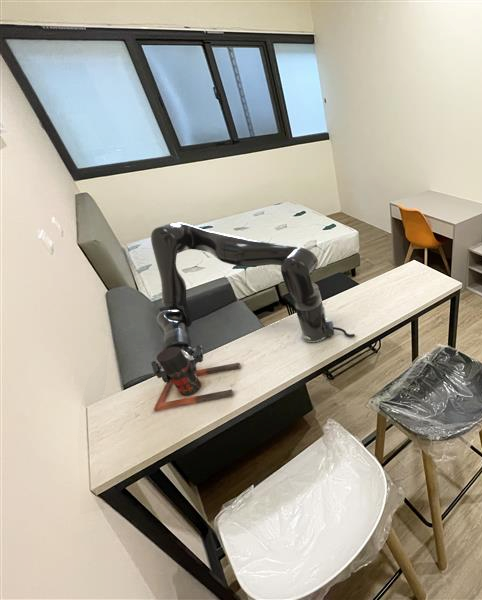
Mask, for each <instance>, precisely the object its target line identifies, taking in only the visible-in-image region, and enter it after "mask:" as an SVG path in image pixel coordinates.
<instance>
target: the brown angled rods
mask: <svg viewBox="0 0 482 600" xmlns="http://www.w3.org/2000/svg"><path fill="white" fill-rule="evenodd" d="M241 366H242V365H241V363H240V362H235V363H228V364H223V365H217V366H212V367H206V368H202V369H197V370H196V371H195V374H196V376H197V378H198V377H202V376H203V377H204V376H207V375H213V374H219V373H224V372H231V371H236V370H240V369H241ZM173 385H174V384H173V382H172V381H171V380H170V383H165V386H164V387H163V390H162V391H161V393H160V395H159V397H158V399H157V401H156V403H155V406H154V408H153V410H154V412H159V411H163V410H164V411H165V410H169V409H174V408H178V407H185V406H188V405H194V404H199V403H205V402H210V401H214V400H219V399H220V400H221V399H226V398H230V397H233V396H234V390H233V389H232V388H231V389H227V390H226V389H225V390H223V391H222V390H221V391H216V392H215V391H214V392H210V393H205V394H200V395H194V396H188V397H184V398H179V399H174V400H168V401H166V399H167V398H168V396H169V393H170V392H171V389H172V388H173Z"/></svg>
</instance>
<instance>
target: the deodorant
mask: <svg viewBox="0 0 482 600" xmlns="http://www.w3.org/2000/svg"><path fill="white" fill-rule="evenodd" d="M156 360H157V362H159V363H160V365H161V366H162V368H163V369H164V371H165V372H166V374H167V375H168V377H169V378H170V380H171V381H172V382H173V385H174V387H175V389H176V390H177V391H178V393H179V394H180V396H182V397H191V396H193V395H194V394H196V393H198V392H199V391H200V389H201V388H202V383H201V381H200V379H199V378H198V377H197V376H196V374H195V373H193V374H192V372H191V371H190V369H189V363H188V361H187V359H186V358H185V356H184V354H183V353H182V351H181V349H180V348H179V347H170V348H167V349H165V350H163V349H162V351H160V352H159V353H158V354H157V356H156ZM162 368H161V369H162Z"/></svg>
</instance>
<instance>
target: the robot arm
mask: <svg viewBox="0 0 482 600" xmlns="http://www.w3.org/2000/svg"><path fill="white" fill-rule="evenodd" d="M150 242H151V247H152V250H153V255H154V259H155V263H156V267H157V270H158V273H159V277H160V283H161V284H160V285H161V301H162V305H163V306H164V307H165V308H167V310H162V311H160V312H158V314H157V316H156V324H157V326H158V328H159V329H160V330H161V332H162V333H163V339H162V351H163V350H165V349H167V348H170V347H179V348H180V349H181V351H182V353H183V354H184V356H185V358H186V359H187V361H188V363H189V369H190V371H191V372H192V374H193V373H195V371H196V370H198V367H197V364H198V363H202V362H203V361H204V348H203V347H202V345H201V344H197V345H196V347H194V348H193V347H192V339H191V337H190V334H189V328H190V327H191V325H192V324H193V316H192V313H191V311H190V309H189V306H188V301H187V284H186V282H185V279H184V277H183V276H182V274H181V273H180V272H179V270H178V268H177V257H178V254H180V253H183V252H185V251H188V250H189V251H190V250H197V251H201V252H207V253H209V254H211V255H212V256H214V257H215V259H217V260H219V261H220V262H223V263H225V264H229V265H232V266H233V265H234V266H238V267H242V268H243V267H244V268H250V267H251V268H252V267H253V268H255V267H262V266H272V265H273V266H280V273H281V276H282V279H283V282H284V285H285V287H286V290H287V293H288V294H289V295H290V296H291V298H292V302H293V305H294V309H295V312H296V316H297V319H298V323H299V326H300V329H301V333H302V337H303V340H304V341H305V342H307V343H313V344H314V343H320V342H322V341H324V340H325V339H328V338H330V336H335V331H340V332H341V333H343V335H345V336H346V337H348V338H352V337H353V338H354V337H355V333H351V334H350V333H347V331H346V330H345V329H343V328H341V327H336V326H334V323H333V320H331V321H328V318H327V314H326V309H325V306H324V305H323V304H324V303H323V300H322V294H321V291H320V287H319V285H318V284H317V283H315V282H313V281H312V278H311V276H312V275H313V273H314V271H315V270H316V268H317V267H318V263H319V260H318V257H317V255H316V254H315V253H314V252H313V251H311V250H310V249H308V248H305V247H300V246H293V245H291V246H290V245H283V244H281V245H280V244H274V243H269V242H265V241H259V240H254V239H250V238H247V237H242V236H236V235H233V234H226V233H220V232H215V231H210V230H206V229H203V228H199V227H197V226H193V225H190V224H187V223H183V222H170V223H168V224H164V225H160V226H157V227H155V228H154V229H152V231H151V234H150ZM194 354H195V356H194V357H193V355H194ZM150 364H151V367H152V371H153V373H154V375H155V376H156V378H157V379H160V378H161V380H162V381H163V383H164V384H166V383H170V378H169V377H168V375H167V374H166V372H165V371H164V369H163V368H162V366H161V365H160V363H159V362H158V361H156V360H153V361H151V362H150Z"/></svg>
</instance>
